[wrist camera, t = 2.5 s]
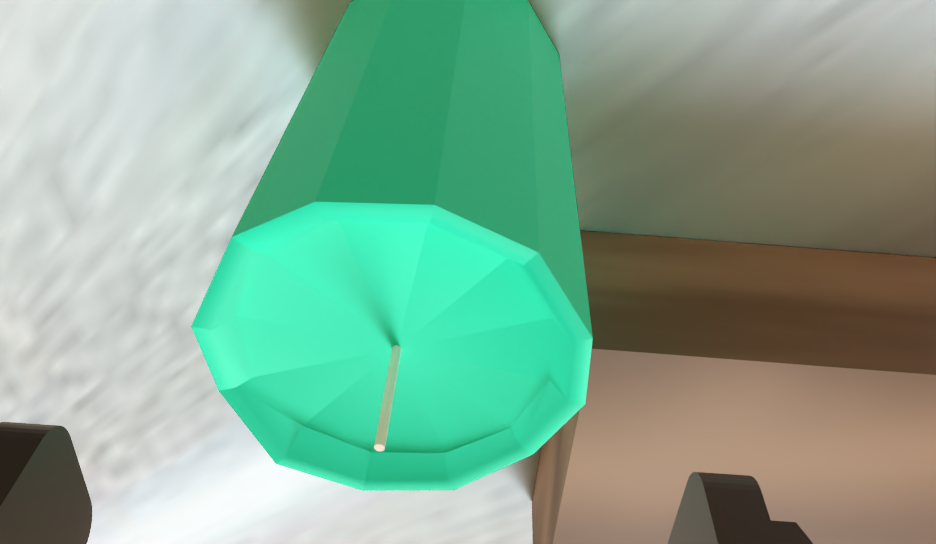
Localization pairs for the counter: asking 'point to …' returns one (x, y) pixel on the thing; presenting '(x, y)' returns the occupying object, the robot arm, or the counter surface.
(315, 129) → the candle
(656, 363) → the walnut stand
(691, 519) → the robot arm
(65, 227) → the counter surface
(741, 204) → the counter surface
